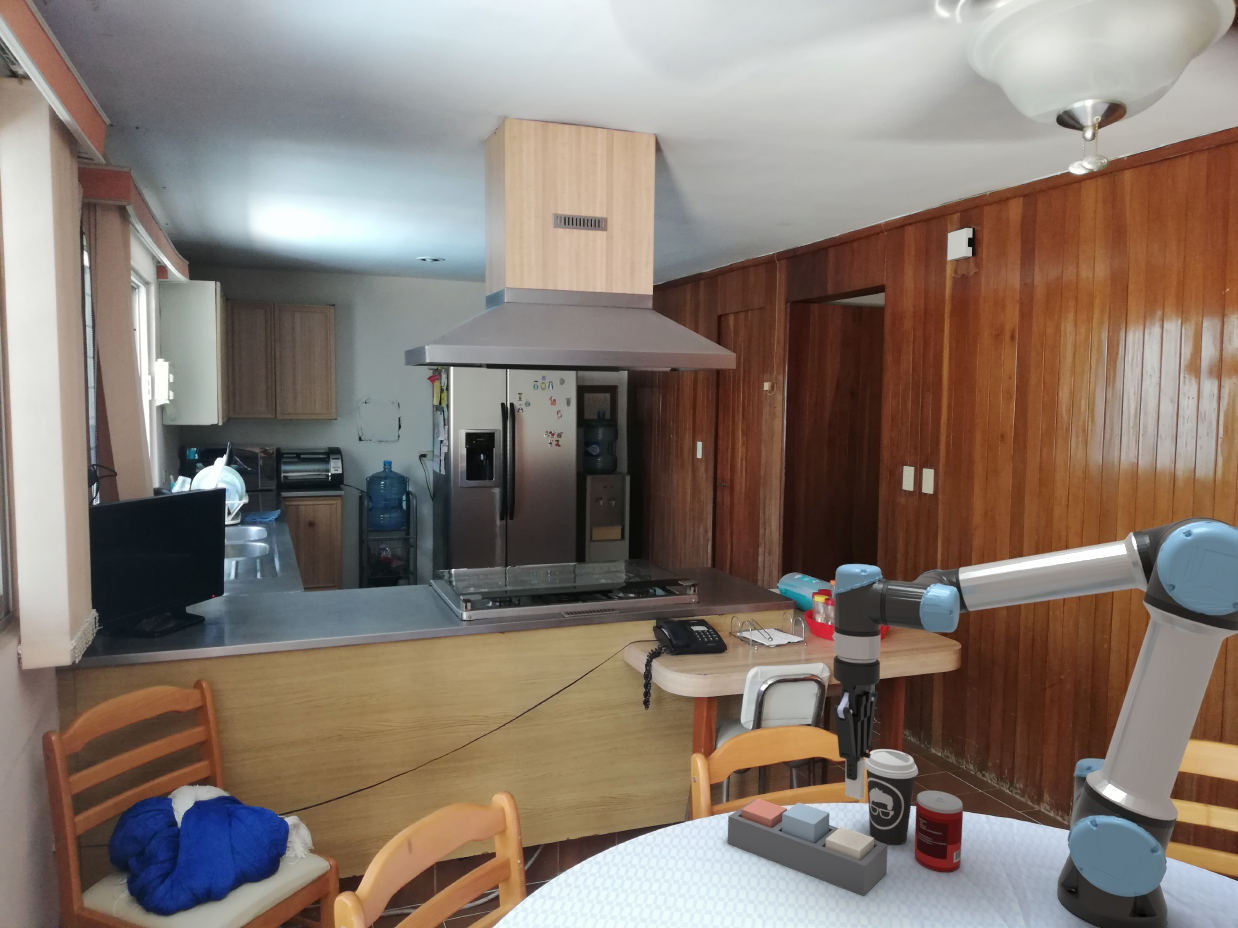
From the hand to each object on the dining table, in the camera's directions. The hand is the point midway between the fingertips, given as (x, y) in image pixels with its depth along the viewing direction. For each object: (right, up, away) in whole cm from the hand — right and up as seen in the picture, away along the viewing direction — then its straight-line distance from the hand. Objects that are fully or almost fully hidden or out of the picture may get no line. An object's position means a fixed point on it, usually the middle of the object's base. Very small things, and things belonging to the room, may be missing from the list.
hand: (854, 795), depth 141 cm
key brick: (-13, -11, +11) cm, 20 cm away
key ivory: (-1, -11, +1) cm, 11 cm away
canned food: (+16, -14, +6) cm, 22 cm away
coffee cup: (+10, -14, +15) cm, 23 cm away
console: (-7, -13, +6) cm, 16 cm away
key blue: (-7, -9, +6) cm, 13 cm away
